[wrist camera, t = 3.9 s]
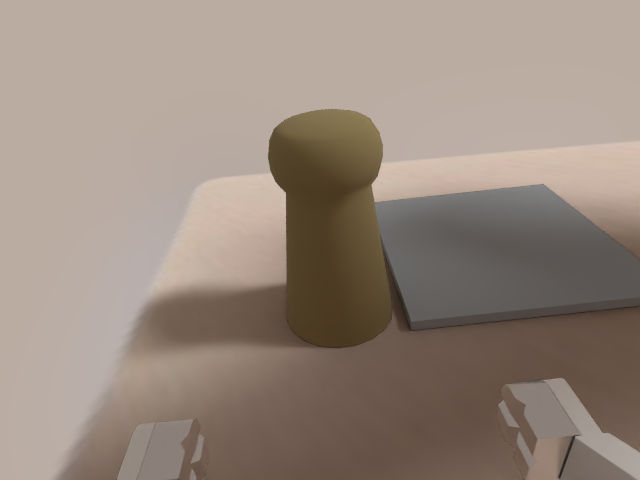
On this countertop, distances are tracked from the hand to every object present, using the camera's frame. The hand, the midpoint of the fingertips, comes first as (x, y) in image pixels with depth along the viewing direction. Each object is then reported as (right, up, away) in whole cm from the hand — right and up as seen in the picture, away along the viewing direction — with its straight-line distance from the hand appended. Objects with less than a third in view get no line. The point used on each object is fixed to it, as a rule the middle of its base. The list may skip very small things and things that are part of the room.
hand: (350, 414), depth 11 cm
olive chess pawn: (0, +1, +13) cm, 13 cm away
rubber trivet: (+11, +4, +17) cm, 20 cm away
